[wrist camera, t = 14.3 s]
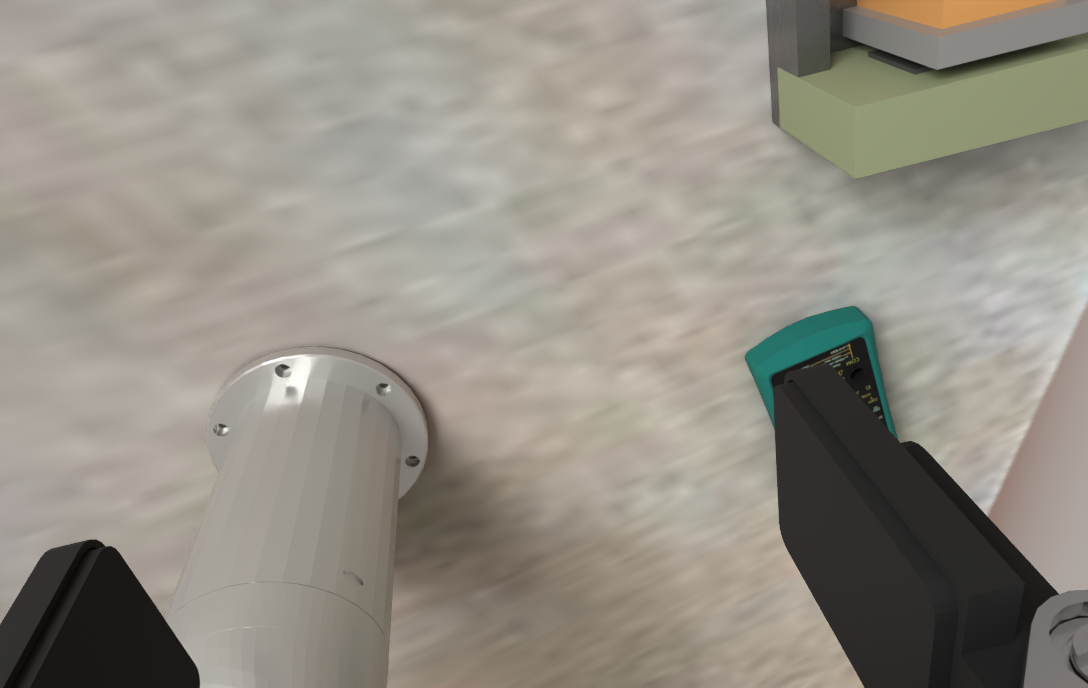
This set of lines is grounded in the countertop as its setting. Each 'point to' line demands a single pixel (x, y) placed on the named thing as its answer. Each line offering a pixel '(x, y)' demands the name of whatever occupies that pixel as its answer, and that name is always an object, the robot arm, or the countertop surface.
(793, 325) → the digital multimeter
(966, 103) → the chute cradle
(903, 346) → the countertop surface
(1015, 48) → the orange pillar on base
